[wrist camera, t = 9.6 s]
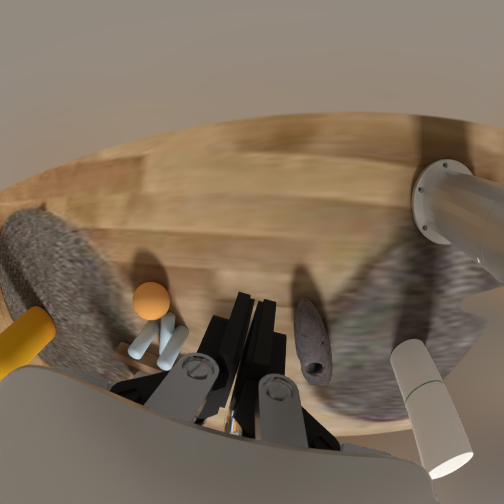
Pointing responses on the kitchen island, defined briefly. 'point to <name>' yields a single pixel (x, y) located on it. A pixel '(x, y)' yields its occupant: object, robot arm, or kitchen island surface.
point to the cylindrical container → (430, 410)
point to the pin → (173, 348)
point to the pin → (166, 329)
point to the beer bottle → (25, 339)
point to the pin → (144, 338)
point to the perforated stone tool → (312, 344)
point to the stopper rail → (144, 363)
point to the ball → (151, 301)
